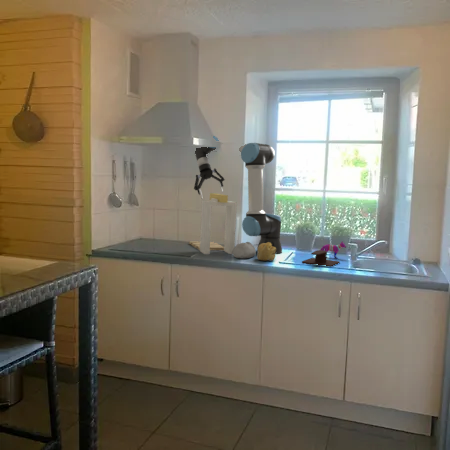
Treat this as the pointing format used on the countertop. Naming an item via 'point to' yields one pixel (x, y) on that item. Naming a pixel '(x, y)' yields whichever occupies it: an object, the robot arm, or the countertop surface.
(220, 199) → the bar
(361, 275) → the countertop surface
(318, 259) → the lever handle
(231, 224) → the bridge
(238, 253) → the decorative stone
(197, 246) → the board
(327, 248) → the toy dog
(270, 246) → the stone
